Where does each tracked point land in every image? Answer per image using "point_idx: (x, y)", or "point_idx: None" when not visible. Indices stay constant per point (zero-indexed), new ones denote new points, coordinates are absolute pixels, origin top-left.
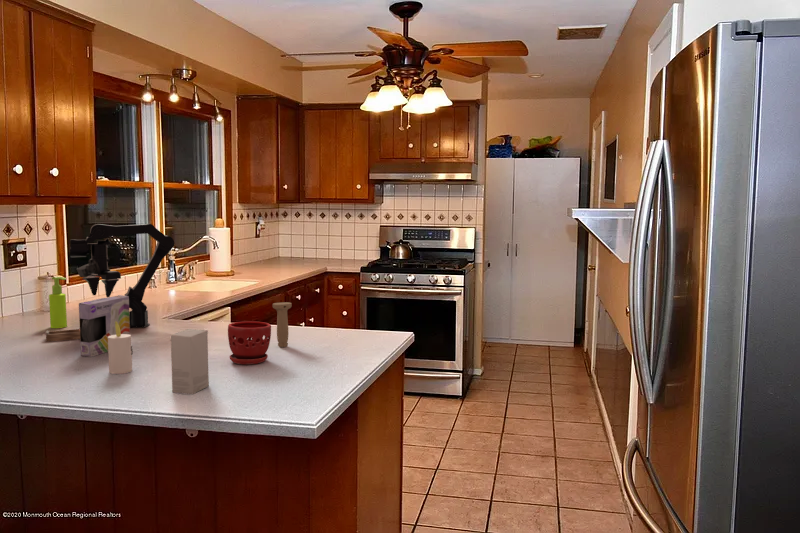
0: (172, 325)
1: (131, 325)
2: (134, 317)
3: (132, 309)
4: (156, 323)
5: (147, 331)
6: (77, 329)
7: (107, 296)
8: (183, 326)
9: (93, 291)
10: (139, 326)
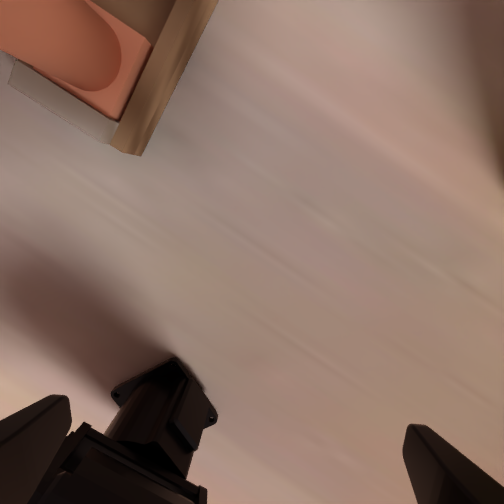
0: None
1: (175, 379)
2: (127, 412)
3: (70, 439)
4: None
5: (18, 340)
6: (161, 35)
7: (41, 403)
8: None
9: (445, 489)
10: (125, 383)
